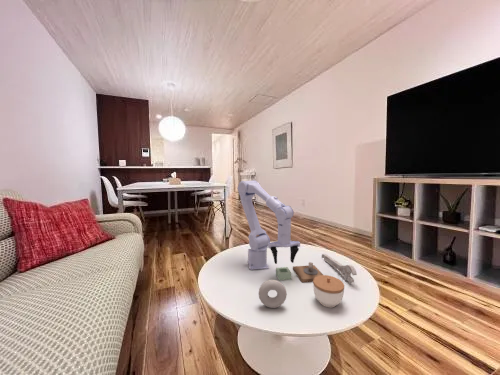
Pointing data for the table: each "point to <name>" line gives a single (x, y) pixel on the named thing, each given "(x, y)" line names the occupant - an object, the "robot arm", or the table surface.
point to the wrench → (341, 268)
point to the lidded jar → (328, 290)
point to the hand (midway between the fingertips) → (283, 262)
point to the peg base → (306, 272)
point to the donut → (272, 301)
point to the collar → (283, 273)
